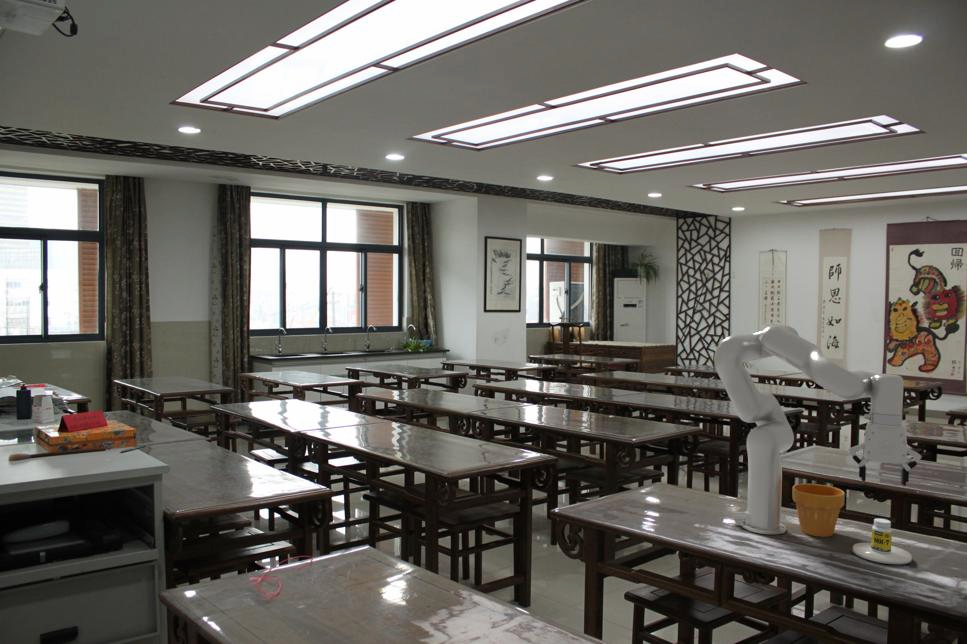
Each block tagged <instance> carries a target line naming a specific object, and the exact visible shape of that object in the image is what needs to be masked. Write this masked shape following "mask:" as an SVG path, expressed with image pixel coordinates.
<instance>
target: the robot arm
mask: <svg viewBox="0 0 967 644" xmlns="http://www.w3.org/2000/svg"><path fill="white" fill-rule="evenodd" d="M713 357H714V358H713V359H714V361H713V362H714V366H715V370H716V372H717V373H716V374H717V375H718V376H719V378H720V380H721V382H722V384H723V387H724V389H725V391H726V393H727V395H728V397H729V400H730V403H732V405H733V408H734V410H735V413H736V414H737V416H738V418H739V419H740V420H741V421H742V422H745V423H748V424H749V423H750V424H751V423H755V424H756V426H755V427H753V428H752V429H751V430H750V431H749V432H748V435H747V437H746V451H747V452H746V453H747V459H748V460H747V461H748V462H747V466H748V469H747V471H748V473H747V478H748V479H747V503H746V504H747V508H746V510H745V511H741V512H740V511H736V510H733V511H732V510H731V518H734V519H735V520H741V525H740V526H741V527H742V528H743V529H745V530H747V531H749V532H752V533H756V534H762V535H771V536H772V535H775V536H776V535H781V534H784V533H785V532H786V531H787V528H786V526H785V525H784V524H783V523H781V521H782V520H781V517H782V516H781V515H782V487H783V485H782V483H783V470H782V469H783V468H782V467H783V466H782V465H783V464H782V460H781V454H782V453H784V452H786V451H788V450H790V448H791V447H792V446H793V444H794V441H795V435H794V431H793V429H792V427H791V425H790V423H789V421H788V419H787V416H786V414H785V413H784V411H783V408H782V407H781V405H780V403H779V400H778V399H777V398H776V397H775V395H773V394H772V393H771V392H769V391H766V390H763V389H758V388H757V386H756V384H755V383H754V381H753V378H752V376H751V375H750V372H748V370H747V369H746V368H745V366H744V364H743V363H744V362H753V361H758V360H761V359H766V358H769V357H770V358H771V357H776V358H778V359H780V360H782V361H783V362H785V363H787V364H788V365H791V366H792V367H793V368H795V369H798V370H799V371H801V372H802V373H803V374H804V375H805V376H806V377H808V378H809V380H811V381H812V382H814V383H815V384H817V385H818V386H820V387H822V388H823V389H824V390H827V391H829V392H831V394H833V395H836V396H838V397H839V398H841V399H844V400H848V401H849V400H851V401H852V400H858V399H862V398H870V411H869V413H864V417H863V418H864V420H867V421H869V422H867V423H866V427H865V430H864V431H865V432H864V436H863V437H864V438H863V443H860V444H858V445H855V446H852V447H849V448H848V451H849V454H850V456H851V457H852V459H853V461H854V462H855V463H856V464H858V477H859V478H860V479H861V481H862V482H866V481H867V480H866V479H867V478H866V476H867V475H866V474H867V467H866V464H867V463H868V462H873V463H874V462H875V463H884V464H885V463H886V464H895V465H901V466H902V468H901V471H900V472H901V473H900V484H901V486H904V487H906V486H907V483H909V478H910V473H909V472H910V471H912V469H914V468H915V467H916V466H917V465H918V463H919V462H920V460H921V459H922V455H921V454H920V453H918V452H916V451H915V450H913V449H910V448H909V447H908V441H907V431H906V427H905V425H903V402H904V401H903V399H904V384H905V383H904V378H903V377H902V376H901V375H898V374H893V373H891V374H890V373H874V372H870V371H864V370H854V371H852V370H851V371H849V370H847V369H846V368H843V367H842V366H839V364H837V363H834V362H833V361H831V360H830V359H828V358H827V357H826V356H825V355H824V353H823V350H822V349H821V347H820V346H818V345H816V344H815V343H813V342H811V341H808V340H807V339H805V338H804V337H802V336H800V335H799V333H798V331H797V330H796V329H795V328H794V327H792V326H790V325H787V324H776V325H775V324H774V325H769V326H766V327H765V328H764V329H763V330H762V331H758V332H754V333H748V334H733V335H728V336H727V337H725V338H724V339H722V340H721V341H720V342H719V343H718V345H717V347H716V348H715V351H714V356H713ZM861 450H862V455H863V456H862V457H861V458H860V457H858V455H857V453H856V452H858V451H861ZM908 454H909V455H910V456H912V457H913V458H912V460H910V461H909V462H908V463H907V460H908Z"/></svg>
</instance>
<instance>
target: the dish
mask: <svg viewBox="0 0 967 644" xmlns="http://www.w3.org/2000/svg"><path fill="white" fill-rule="evenodd" d="M852 552H853V553H854V554H855V555H856V556H858V557H860V558H862V559H865V560H868V561H872V562H876V563H879V564H885V565H886V564H888V565H906V564H910V563H911V562H912V558H913V555H912V554H911V553H910V552H909V551H907V550H905V549H903V548H900V547H897V546H893V545H891V553H889V554H883V553H877V552H875V551H873V550H872V549H871V542H858V543H855V544H853V545H852Z"/></svg>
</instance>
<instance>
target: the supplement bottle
mask: <svg viewBox="0 0 967 644" xmlns="http://www.w3.org/2000/svg"><path fill="white" fill-rule="evenodd" d="M891 526H892V522H891V521H890V520H888V519H887V518H874V519H873V525H872V527H871V541H870V543H871V549H872V550H873V551H875V552H877V553H883V554H889V553H891V546H892V543H893V542H892V538H893V537H892V536H893V529H892V528H891Z"/></svg>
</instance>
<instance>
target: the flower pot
mask: <svg viewBox="0 0 967 644" xmlns="http://www.w3.org/2000/svg"><path fill="white" fill-rule="evenodd" d="M791 495H792V501H794V502H795V505H796V511H797V518H798V522H799V527H800V531H801V532H802V533H804V534H807V535H808V536H809V535H810V536H813V537H819V536H820V537H821V538H827V537H832V536H833V535H834V534H835V533H834V532H835V530H836V526H837V523H838V522H837V521H838V518H839V514H840V511H841V508H843V507H844V505H845V498H846V497H845V496H846V493H845V491H844V490H842V489H840V488H838V487H833V486H831V485H825V484H818V483H817V484H816V483H798V484H794V485H792V494H791ZM820 537H819V538H820Z"/></svg>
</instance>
